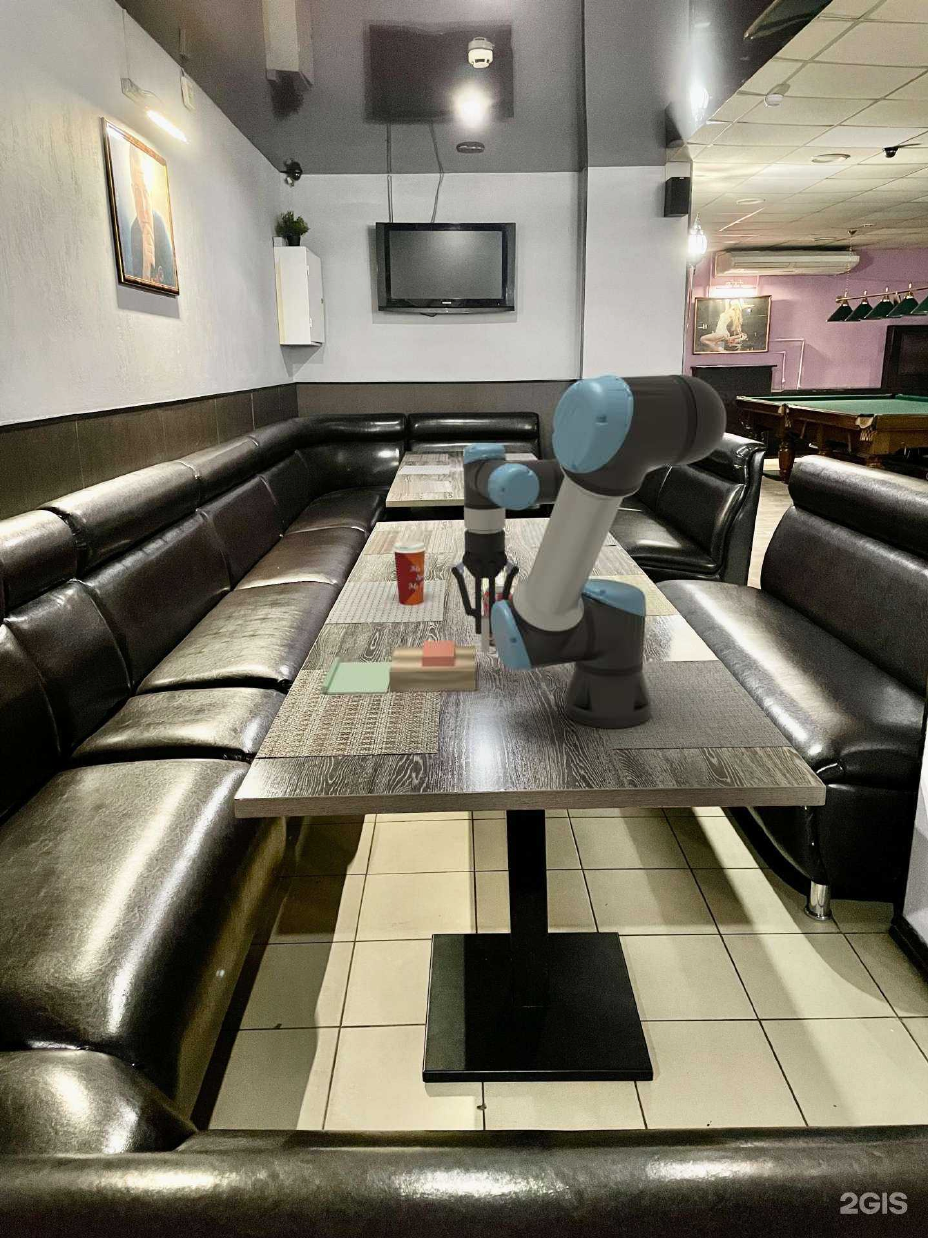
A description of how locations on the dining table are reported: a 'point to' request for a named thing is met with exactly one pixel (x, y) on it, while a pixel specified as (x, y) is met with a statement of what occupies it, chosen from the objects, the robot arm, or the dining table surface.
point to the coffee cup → (410, 571)
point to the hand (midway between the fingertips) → (485, 649)
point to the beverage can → (497, 598)
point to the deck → (432, 671)
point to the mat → (357, 678)
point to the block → (438, 653)
